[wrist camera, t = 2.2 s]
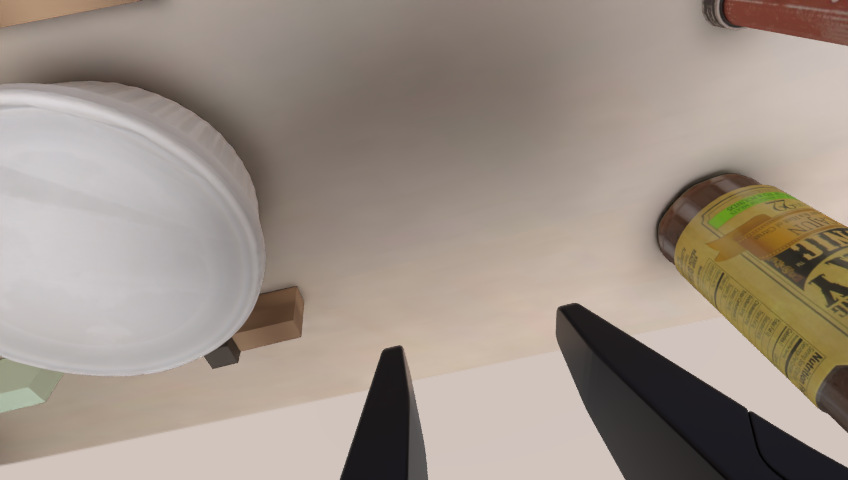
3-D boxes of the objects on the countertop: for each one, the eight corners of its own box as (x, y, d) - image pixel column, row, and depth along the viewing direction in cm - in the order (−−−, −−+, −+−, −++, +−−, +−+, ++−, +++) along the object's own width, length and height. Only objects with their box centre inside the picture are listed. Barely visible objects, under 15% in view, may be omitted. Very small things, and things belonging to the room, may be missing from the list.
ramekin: (217, 25, 15) (171, 53, 11) (310, 263, 22) (304, 340, 18) (-107, 86, 15) (-289, 143, 10) (87, 313, 21) (25, 406, 17)
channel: (78, 355, 22) (44, 409, 20) (-243, 24, 13) (-384, 42, 11) (304, 302, 23) (300, 347, 20) (149, -49, 14) (106, -48, 11)
